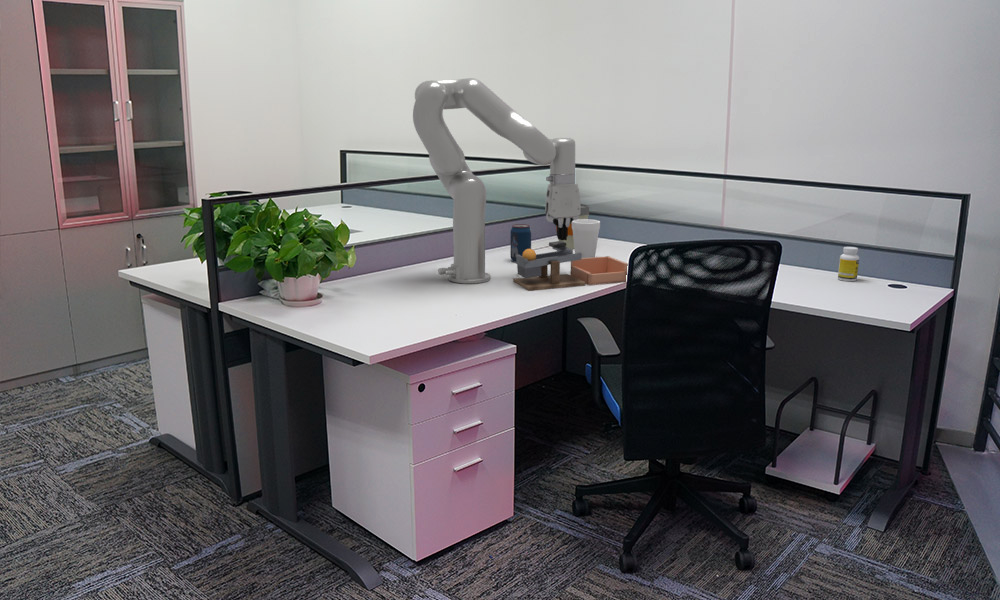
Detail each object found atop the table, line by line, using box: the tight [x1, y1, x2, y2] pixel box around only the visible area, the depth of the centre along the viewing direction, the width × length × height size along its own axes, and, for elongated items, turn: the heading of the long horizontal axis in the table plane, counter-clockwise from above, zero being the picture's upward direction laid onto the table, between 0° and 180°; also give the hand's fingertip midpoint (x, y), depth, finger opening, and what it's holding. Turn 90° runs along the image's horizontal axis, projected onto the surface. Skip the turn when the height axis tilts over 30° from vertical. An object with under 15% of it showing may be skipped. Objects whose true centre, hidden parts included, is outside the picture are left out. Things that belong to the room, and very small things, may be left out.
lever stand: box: [512, 261, 586, 292], centre depth 244 cm, size 18×12×8 cm, turn 111°
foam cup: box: [572, 218, 601, 258], centre depth 278 cm, size 10×9×13 cm
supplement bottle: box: [837, 246, 860, 282], centre depth 248 cm, size 5×5×10 cm
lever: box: [516, 240, 582, 278], centre depth 247 cm, size 18×15×6 cm
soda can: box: [509, 223, 532, 263], centre depth 276 cm, size 7×7×12 cm
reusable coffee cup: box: [555, 203, 590, 250], centre depth 300 cm, size 12×13×15 cm
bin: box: [570, 255, 629, 286], centre depth 250 cm, size 13×12×6 cm
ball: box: [522, 248, 537, 261], centre depth 241 cm, size 4×4×4 cm
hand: (562, 239), depth 254 cm, fingers closed
